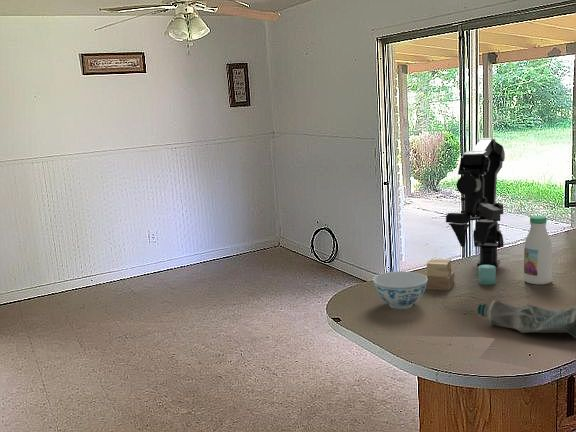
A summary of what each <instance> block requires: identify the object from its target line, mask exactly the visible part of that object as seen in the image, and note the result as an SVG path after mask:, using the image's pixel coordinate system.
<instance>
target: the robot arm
mask: <svg viewBox="0 0 576 432" xmlns="http://www.w3.org/2000/svg"><path fill="white" fill-rule="evenodd" d="M505 157H506V155H505V150H504V146H503V145H502V144H501V143H498V142H497V140H496V138H493V137H481V138H479V139H478V140H477V144H476V145H475V147H474V148H473V149H472V150H467V151H465V152H464V153H463V155H462V156H461V157H460V161H459V167H458V172H457V175H462V176H460V177H459V178H458V180H457V181H456V189H457V191H458V192H459V193H460V194H461V195H463V196H461V197H460V201H461V202H463V210H460V212H449V213H447V214H446V215H445V223H448V225H449V226H450V227H451V228H452V230H453V233H454V235H455V236H456V239H457V240H458V243H459V245H460V247H462V248H465V245H466V239H467V229H468V228H469V227H471V223H470V221H475V222H476V223H475V228H474V229H473V234H472V235H473V245H474V246H473V247H475V248H477V247H479V260H478V262H477V263H476V266H480V265H493V266H495V267H497V266H498V265H499V263H501V261H500V259H498V249H501V248H504V235H503V234H502V231H501V229H500V224H499V222H500V221H501V215H504V204H503V203H502V202H496V201H497V183H498V182H497V177H498V174H499V173H500V171H501V169H502V168H503V163H504V161H505V160H506V159H505Z"/></svg>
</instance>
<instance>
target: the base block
mask: <svg viewBox="0 0 576 432" xmlns="http://www.w3.org/2000/svg"><path fill="white" fill-rule="evenodd" d="M424 276H426V277H427V279H428V280H427V285H426V288H427V289H426V290H436V289H438V290H437V291H447V292H449V291H450V290H451V288H452V287H453V286H454V285H455V271H451V273H450V274H449V276H448V277H434V276H427V273H426V274H425V275H424Z"/></svg>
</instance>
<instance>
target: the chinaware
mask: <svg viewBox="0 0 576 432" xmlns="http://www.w3.org/2000/svg"><path fill="white" fill-rule="evenodd" d="M427 280H428V279H427V277H426V276H425V275H424V274H422V273H419V272H415V271H414V272H412V271H398V270H397V271H388V272H383V273H380V274H378V275H375V276H374V277H373V280H372V282H373V285H374V288H375V290H376V292H377V294H378V296H380V298H381V299H382V300H383V301H384V302H385V303H388V305H389V307H390V308H392V309H396V310H397V309H398V310H405V309H410V308H412V307H413V306H414V303H416V302H417V301H418V300H420V299H421V297H422V296H423V294H425V293H424V292H425V291H426V290H427V289H426V285H427Z"/></svg>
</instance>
